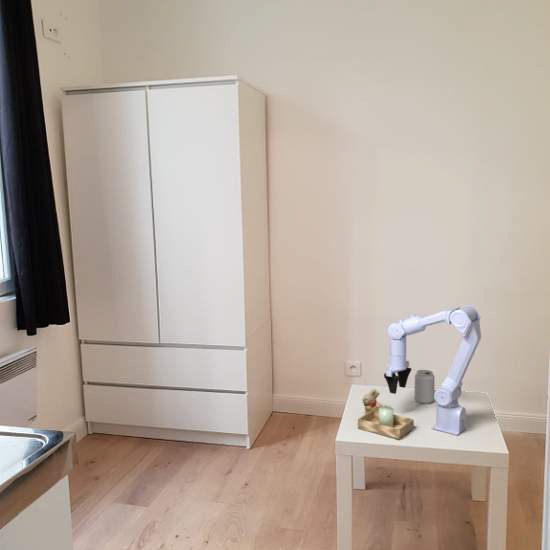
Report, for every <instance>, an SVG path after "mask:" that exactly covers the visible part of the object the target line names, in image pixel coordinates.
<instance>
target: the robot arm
mask: <svg viewBox="0 0 550 550" xmlns="http://www.w3.org/2000/svg"><path fill="white" fill-rule="evenodd" d="M480 320H481V316H480V314H479V312H478V310H477V309H476V308H475V307H474V306H472V305H469V304H467V305H463V306H462V307H461V306H456V307H452V308H448V309H444V310H441V311H439V312H436V313H433V314H430V315H426V316H425V317H423V316H421V315H420V314H419V315H416V314H413V315H410V317H408V318H405V319H403V318H402V319H399V321H396V322H393V323H392V324H390V325H389V326H388V328H387V334H388V336H389V346H390V349H389V354H390V355H389V363H387V364H386V366H387V367H388V368H387V370H386V371H385V372H384V375H383V377H384V379H385V380H386V383H387V386H388V391H389V393H390V394H394V395H396V394H397V391H398V385H399V387H400V388H403V389H406V385H407V382H408V379H409V376H410V373H411V372H412V367H410V361H409V360H407V336H411V335H413V334H418V333H421V332H424V331H425V330H426V327H428V326H432V325H436V324H440V323H443V322H444V323H446V324H447V325H451V326H453V328H454V329H456V331H457V332H459V334H460V335H461V337H462V341H461V343H460V345H459V348H458V350H457V352H456V354H455V357H454V359H453V362H452V364H451V366H450V368H449V371H448V372H447V376H446V377H445V379H444V380H443V381H442V383H441V385H440V387H439V388H438V389H436V390H434V401H435V403H436V421H435V422H436V423H435V424H434V425H433V426H432V427H431V429H432V430H436V431H439V432H443V433H448V434H451V435H456V436H459V435H460V434H461V433H462V432H464V430H465V429H466V428H467V426H466V424H467V423H466V420H467V410H466V408H465V407H464V406H461V405H460V404H459V398H460V397H461V395H462V385H463V379H464V377H465V375H466V372H467V371H468V368H469V365H470V364H471V361H472V359H473V357H474V355H475V352H476V350H477V348H478V345H479V343H480V341H481V339H482V333H481V332H482V331H481V325H480V324H481V322H480ZM396 373H397V374H396Z"/></svg>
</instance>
